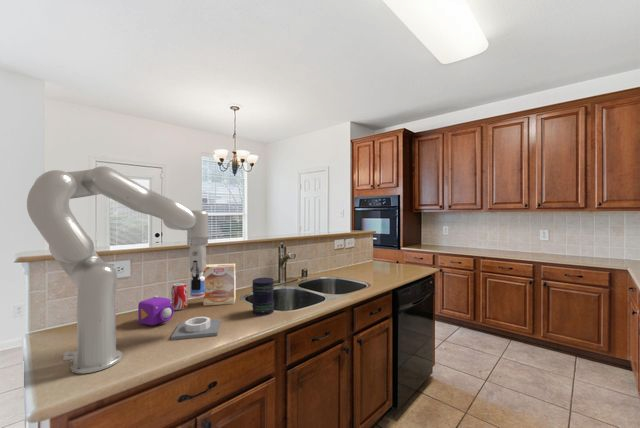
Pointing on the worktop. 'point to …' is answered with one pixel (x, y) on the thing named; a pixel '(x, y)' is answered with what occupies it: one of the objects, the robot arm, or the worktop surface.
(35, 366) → the worktop surface
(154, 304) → the toy camera
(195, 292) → the pill bottle
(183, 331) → the mount board
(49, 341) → the worktop surface
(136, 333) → the worktop surface
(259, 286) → the storage jar
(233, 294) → the coffeecake box
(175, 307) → the soda can
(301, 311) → the worktop surface
